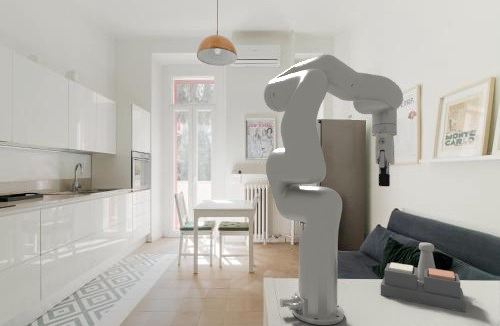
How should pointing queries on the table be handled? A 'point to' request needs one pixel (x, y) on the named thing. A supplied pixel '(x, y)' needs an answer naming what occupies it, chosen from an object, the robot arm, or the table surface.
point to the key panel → (423, 289)
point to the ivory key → (401, 268)
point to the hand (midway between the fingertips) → (384, 186)
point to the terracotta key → (441, 274)
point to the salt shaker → (425, 259)
